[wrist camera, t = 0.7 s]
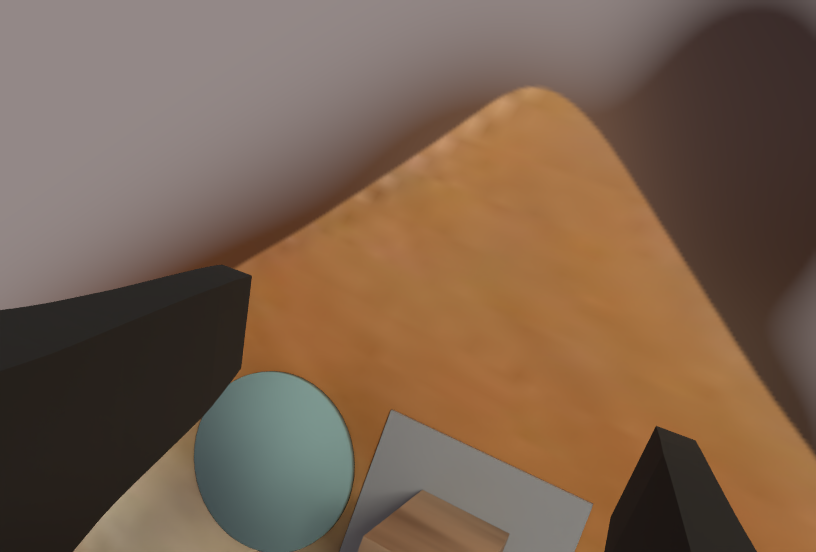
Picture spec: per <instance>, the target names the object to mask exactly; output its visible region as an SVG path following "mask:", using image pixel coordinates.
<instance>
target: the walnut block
mask: <svg viewBox="0 0 816 552" xmlns="http://www.w3.org/2000/svg"><path fill="white" fill-rule="evenodd" d="M508 537H509V533H507V532H505V531H503V530H501V529H499V528H497V527H495V526H493V525H491V524H489V523H487V522H485V521H483V520H481V519H479V518H477V517H476V516H474V515H472V514H470V513H468V512H466V511H464V510H462V509H460V508H458V507H456V506H454V505H452V504H450V503H448V502H446V501H444V500H442V499H440V498H438V497H436V496H434V495H432V494H430V493H428V492H426V491H424V490H422V491H420V492H419V493H418V494H417V495H415V496H414V497H413V498H411V499H410V500H409V501H408V502H406V503H405V504H404V505H402V506H401V507H400V508H399V509H397V510H396V511H395V512H394V513H392V514H391V515H390V516H388V517H387V518H386V519H385V520H383V521H382V522H381V523H380V524H378V525H377V526H376V527H374V528H373V529H372V530H371V531H369V532H368V533H367V534H365V535H364V536H363V539H362V541H361V544H360V547H359V550H358V552H503V550H504V547H505V545H506V542H507V540H508Z"/></svg>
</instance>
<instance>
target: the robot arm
mask: <svg viewBox="0 0 816 552" xmlns="http://www.w3.org/2000/svg"><path fill="white" fill-rule="evenodd" d="M251 279H252V276H251V275H249V274H246V273H243V272H240V271H238V270H235V269H232V268H230V267H227V266H224V265H216V266H210V267H205V268H201V269H195V270H191V271H187V272H183V273H179V274H175V275H171V276H166V277H162V278H158V279H154V280H150V281H147V282H142V283H138V284H134V285H130V286H126V287H122V288H118V289H113V290H109V291H104V292H100V293H94V294H90V295H85V296H80V297H75V298H71V299H66V300H61V301H56V302H51V303H46V304H40V305H34V306H28V307H21V308H14V309H6V310H0V552H73V551H74V549H75V548H76V547H77V546H78V545H79V544H80V542H81V541H82V540H83V539H84V538H85V536H86V535H87V534H88V533H89V532H90V530H91V529H92V528H93V527H94V526H95V524H96V523H97V522H98V521H99V520H100V518H101V517H102V516H103V515H104V514H105V513H106V512H107V511H108V510H109V509H110V508H111V507H112V505H113V504H114V503H115V502H116V501H117V500H118V499H119V498H120V497H121V496H122V495H123V494H124V493H125V492H126V491H127V490H128V489H129V488H130V487H131V486H132V485H133V484H134V483H135V482H136V481H137V480H138V479H139V478H140V477H141V476H142V475H144V474H145V473H146V472H147V471H148V470H149V469H150V468H151V467H152V466H153V465H154V464H155V463H156V462H157V461H158V460H159V459H160V458H161V457H162V456H163V455H164V454H165V453H166V452H167V451H168V450H169V449H170V448H171V447H172V446H173V445H174V444H175V443H176V442H177V441H178V440H179V439H180V438H181V437H183V436H184V435H185V434H186V433H187V432H188V431H189V430H190V429H191V428H192V427H193V426H194V425H195V424H196V423H197V422H198V421H199V420H200V419H201V418H202V417H203V416H204V415H205V414H206V412H207V411H208V410H209V409H210V408H211V407H212V406H213V404H214V403H215V402H216V401H217V399H218V398H219V397H220V396H221V394H222V393H223V392H224V390H225V389H226V388H227V386H228V385H229V384H230V382H231V381H232V380H233V378H234V377H235V376H236V374H237V373H238V372H239V370H240V369H241V364H242V355H243V347H244V338H245V330H246V321H247V313H248V304H249V296H250V287H251ZM605 552H757V551H756V550H755V548H754V546H753V545H752V543H751V541H750V539H749V538H748V536H747V534H746V533H745V531H744V529H743V527H742V526H741V524H740V522H739V520H738V518H737V517H736V515H735V513H734V511H733V509H732V508H731V506H730V504H729V502H728V500H727V498H726V497H725V495H724V493H723V491H722V489H721V487H720V485H719V484H718V482H717V480H716V478H715V476H714V474H713V472H712V470H711V468H710V467H709V465H708V463H707V461H706V459H705V457H704V455H703V453H702V451H701V450H700V448H699V446H698V444H697V443H696V441H695V440H693V439H690V438H687V437H685V436H682V435H679V434H676V433H674V432H671V431H668V430H666V429H663V428H660V427H658V426H656V427H655V429H654V431H653V433H652V435H651V437H650V439H649V441H648V443H647V445H646V447H645V449H644V451H643V453H642V455H641V457H640V459H639V461H638V463H637V465H636V467H635V469H634V471H633V473H632V476H631V478H630V480H629V482H628V484H627V486H626V488H625V490H624V492H623V494H622V496H621V498H620V500H619V502H618V504H617V506H616V508H615V510H614V512H613V514H612V516H611V519H610V524H609V530H608V535H607V540H606V546H605Z"/></svg>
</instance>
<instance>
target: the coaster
mask: <svg viewBox="0 0 816 552" xmlns="http://www.w3.org/2000/svg"><path fill="white" fill-rule="evenodd" d="M194 463H195V473H196V479H197V483H198V487H199V490H200V493H201V495H202V498H203V500H204V503H205V505H206V506H207V508H208V510H209V512H210V513H211V515H212V516H213V518H214V519H215V521H216V522H217V523H218V524H219V525H220V526H221V528H222V529H223V530H224V531H225V532H227V533H228V534H229V535H230V536H231V537H232V538H234V539H235V540H237V541H238V542H240V543H241V544H243V545H245V546H247V547H249V548H252V549H255V550H258V551H262V552H292V551H296V550H299V549H302V548H304V547H306V546H308V545H310V544H312V543H313V542H315V541H316V540H318V539H319V538H321V537H322V536H323V535H325V534H326V533H327V532H328V531H329V530H330V529H331V528H332V527H333V526H334V524H335V523H336V522H337V521H338V520H339V518H340V516H341V515H342V513H343V511H344V510H345V507H346V505H347V503H348V501H349V498H350V494H351V491H352V487H353V481H354V469H355V461H354V451H353V445H352V440H351V437H350V434H349V431H348V428H347V426H346V424H345V421H344V419H343V417H342V415H341V414H340V412H339V410H338V409H337V407H336V406H335V405H334V403H333V402H332V401H331V400H330V398H329V397H328V396H327V395H326V394H325V393H324V392H323V391H322V390H320V389H319V388H318V387H316V386H315V385H314V384H312V383H311V382H309V381H307V380H305V379H304V378H301V377H299V376H296V375H294V374H289V373H285V372H277V371H269V372H259V373H254V374H250V375H247V376H244V377H242V378H239V379H237V380H235V381H234V382H232V383H230V384H229V385H228V386H227V388H226V389H225V390H224V392H223V393H222V394H221V396H220V397H219V398H218V399H217V401H216V402H215V403H214V404H213V406H212V407H211V408H210V409H209V410H208V411H207V412H206V414H205V415H204V416H203V417H202V420H201V422H200V425H199V428H198V432H197V435H196V442H195V451H194Z"/></svg>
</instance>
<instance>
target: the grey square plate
mask: <svg viewBox="0 0 816 552" xmlns="http://www.w3.org/2000/svg"><path fill="white" fill-rule="evenodd" d="M422 490H424V491H426V492H428V493H430V494H432V495H434V496H436V497H438V498H440V499H442V500H444V501H446V502H448V503H450V504H452V505H454V506H456V507H458V508H460V509H462V510H464V511H466V512H468V513H470V514H472V515H474V516H476V517H477V518H479V519H481V520H483V521H485V522H487V523H489V524H491V525H493V526H495V527H497V528H499V529H501V530H503V531H505V532H507V533H509V537H508V540H507V542H506V545H505V547H504V550H503V552H575V549H576V547H577V544H578V541H579V539H580V536H581V534H582V531H583V529H584V526H585V524H586V521H587V519H588V516H589V514H590V511H591V509H592V506H593V503H591V502H588V501H586V500H584V499H582V498H580V497H578V496H576V495H574V494H571V493H569V492H567V491H565V490H563V489H561V488H559V487H556V486H554V485H552V484H550V483H548V482H546V481H544V480H542V479H539V478H537V477H535V476H533V475H531V474H529V473H527V472H525V471H522V470H520V469H518V468H516V467H514V466H512V465H510V464H507V463H505V462H503V461H501V460H499V459H497V458H495V457H493V456H490V455H488V454H486V453H484V452H482V451H480V450H478V449H476V448H473V447H471V446H469V445H467V444H465V443H463V442H461V441H458V440H456V439H454V438H452V437H450V436H448V435H446V434H444V433H441V432H439V431H437V430H435V429H433V428H431V427H429V426H427V425H424V424H422V423H420V422H418V421H416V420H414V419H412V418H409V417H407V416H405V415H403V414H401V413H399V412H397V411H395V410H391V412H390V415H389V417H388V420H387V423H386V425H385V428H384V431H383V434H382V436H381V439H380V442H379V445H378V447H377V450H376V453H375V455H374V458H373V461H372V464H371V466H370V469H369V472H368V475H367V477H366V480H365V483H364V485H363V488H362V491H361V494H360V496H359V499H358V502H357V505H356V507H355V510H354V513H353V515H352V518H351V521H350V524H349V526H348V529H347V532H346V535H345V537H344V540H343V543H342V546H341V548H340V551H339V552H358V550H359V547H360V544H361V541H362V539H363V536H364V535H365V534H367V533H368V532H369V531H371V530H372V529H373V528H374V527H376V526H377V525H378V524H380V523H381V522H382V521H383V520H385V519H386V518H387V517H388V516H390V515H391V514H392V513H394V512H395V511H396V510H397V509H399V508H400V507H401V506H402V505H404V504H405V503H406V502H408V501H409V500H410V499H411V498H413V497H414V496H415V495H417V494H418V493H419V492H420V491H422Z"/></svg>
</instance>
